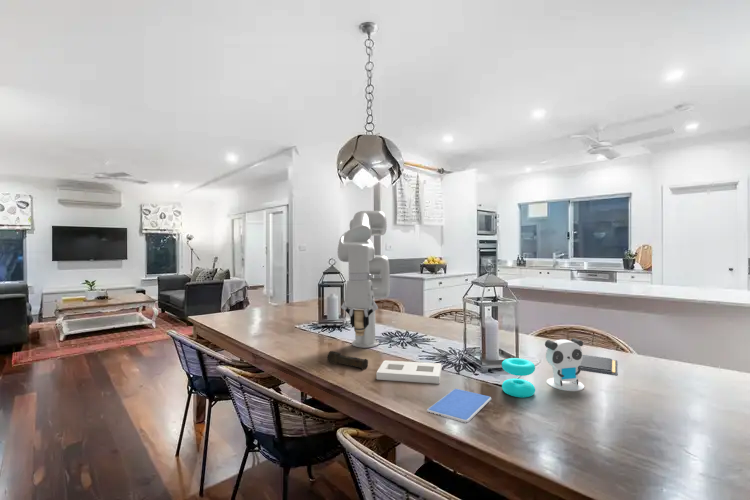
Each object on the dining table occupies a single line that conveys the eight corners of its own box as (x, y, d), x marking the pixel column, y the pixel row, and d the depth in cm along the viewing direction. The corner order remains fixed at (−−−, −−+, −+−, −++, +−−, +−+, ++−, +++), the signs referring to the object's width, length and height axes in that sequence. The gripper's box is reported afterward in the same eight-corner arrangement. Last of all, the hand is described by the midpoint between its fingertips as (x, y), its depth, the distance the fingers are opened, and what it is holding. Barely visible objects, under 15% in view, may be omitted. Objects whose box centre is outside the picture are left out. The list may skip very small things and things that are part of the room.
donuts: (502, 355, 128) (534, 358, 124) (502, 385, 128) (534, 388, 125) (501, 364, 119) (535, 368, 115) (501, 396, 119) (536, 400, 115)
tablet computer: (467, 425, 101) (467, 420, 101) (425, 413, 109) (425, 408, 109) (492, 400, 117) (492, 396, 117) (454, 391, 125) (454, 387, 124)
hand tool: (369, 368, 148) (368, 356, 148) (362, 371, 145) (362, 358, 144) (332, 360, 159) (332, 349, 159) (325, 362, 155) (325, 351, 155)
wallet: (576, 352, 160) (619, 358, 152) (576, 356, 160) (619, 362, 152) (569, 365, 144) (617, 372, 135) (569, 370, 144) (617, 377, 135)
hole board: (384, 366, 149) (384, 360, 148) (441, 370, 144) (441, 363, 144) (376, 379, 135) (376, 372, 135) (439, 383, 130) (439, 376, 130)
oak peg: (355, 333, 143) (355, 309, 143) (366, 333, 142) (366, 309, 142) (352, 335, 139) (352, 311, 139) (363, 336, 138) (363, 311, 138)
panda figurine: (558, 392, 121) (558, 345, 121) (538, 379, 133) (537, 336, 132) (592, 389, 123) (592, 343, 123) (569, 377, 134) (569, 335, 134)
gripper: (383, 276, 141) (383, 325, 142) (340, 275, 145) (341, 323, 146) (379, 278, 134) (379, 330, 135) (333, 278, 138) (334, 328, 139)
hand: (359, 326), depth 140 cm, fingers closed on oak peg, 4 cm apart
